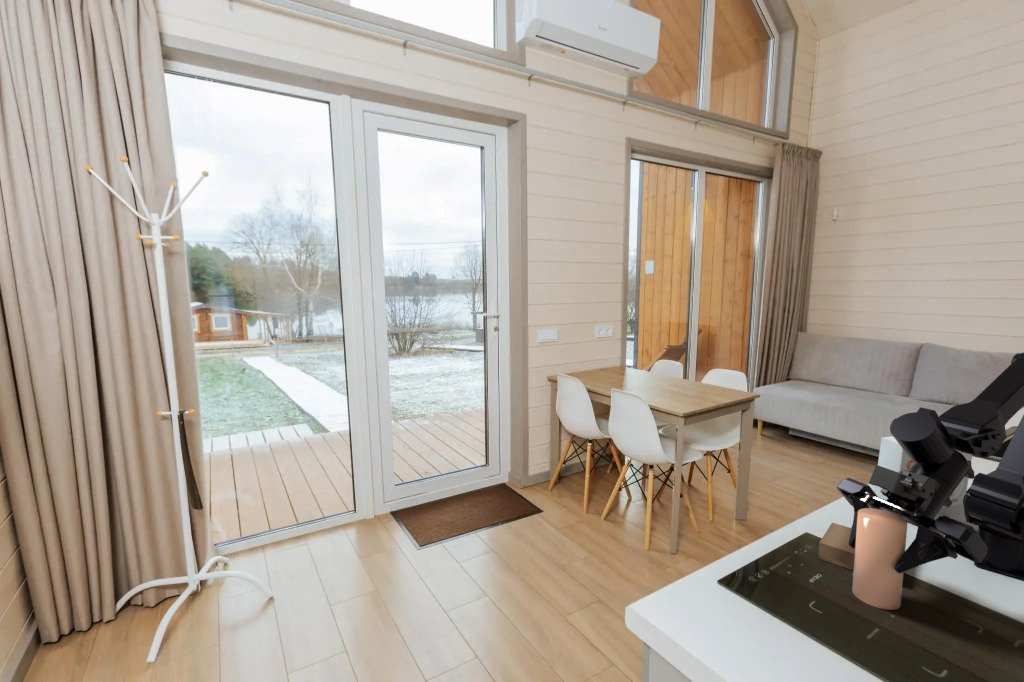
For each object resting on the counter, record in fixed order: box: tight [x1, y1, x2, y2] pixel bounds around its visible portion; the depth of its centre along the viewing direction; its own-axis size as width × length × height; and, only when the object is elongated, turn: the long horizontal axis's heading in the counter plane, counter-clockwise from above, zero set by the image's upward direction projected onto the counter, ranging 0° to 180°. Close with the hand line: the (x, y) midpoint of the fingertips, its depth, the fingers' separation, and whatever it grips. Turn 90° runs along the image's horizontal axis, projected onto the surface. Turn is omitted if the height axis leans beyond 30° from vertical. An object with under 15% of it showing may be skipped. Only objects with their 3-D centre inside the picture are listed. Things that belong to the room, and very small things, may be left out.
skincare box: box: [873, 435, 973, 509], centre depth 104 cm, size 21×5×16 cm, turn 105°
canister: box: [851, 508, 908, 611], centre depth 73 cm, size 6×6×13 cm
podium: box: [817, 522, 855, 571], centre depth 85 cm, size 10×10×3 cm
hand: (872, 558), depth 73 cm, fingers open, 7 cm apart
